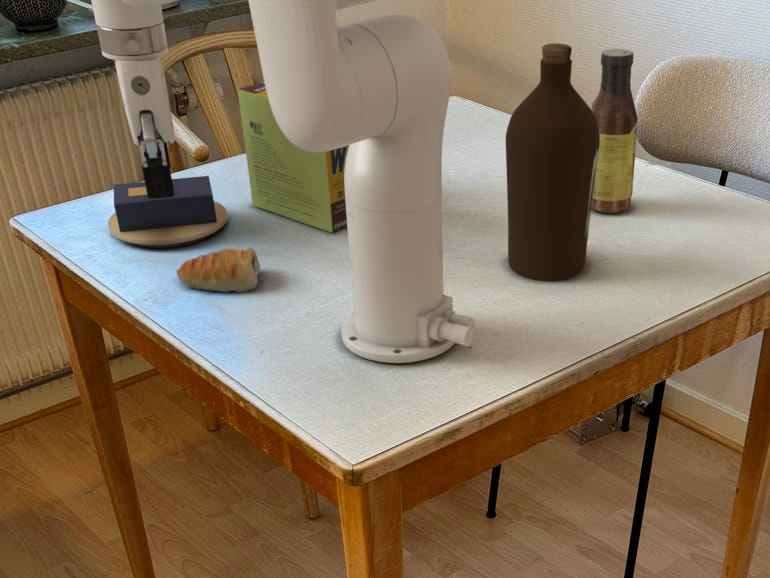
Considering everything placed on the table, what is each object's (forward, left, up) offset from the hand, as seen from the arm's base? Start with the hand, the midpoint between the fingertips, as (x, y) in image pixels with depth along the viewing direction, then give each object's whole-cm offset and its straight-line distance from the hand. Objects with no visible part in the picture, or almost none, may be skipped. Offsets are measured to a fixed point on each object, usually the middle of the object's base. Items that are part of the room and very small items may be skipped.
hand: (159, 182), depth 128 cm
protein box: (-13, -15, -6) cm, 21 cm away
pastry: (-17, +9, -6) cm, 20 cm away
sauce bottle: (-47, -35, -6) cm, 59 cm away
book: (0, 0, -6) cm, 6 cm away
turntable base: (0, 0, -6) cm, 6 cm away
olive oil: (-48, -14, -6) cm, 51 cm away
